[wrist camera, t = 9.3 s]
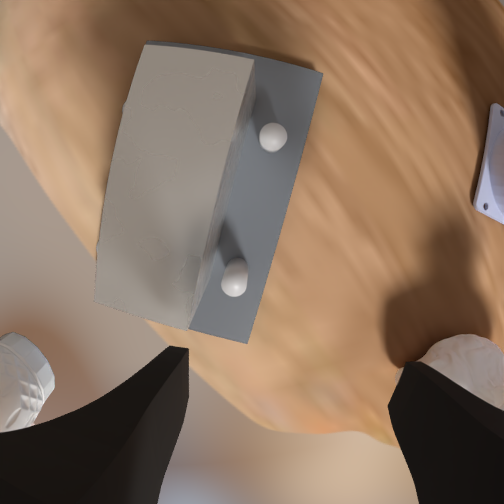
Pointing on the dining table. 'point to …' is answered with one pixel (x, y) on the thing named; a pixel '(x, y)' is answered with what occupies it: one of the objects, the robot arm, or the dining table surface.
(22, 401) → the white cup
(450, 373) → the bust
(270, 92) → the pin tray
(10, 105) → the dining table surface
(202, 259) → the block
